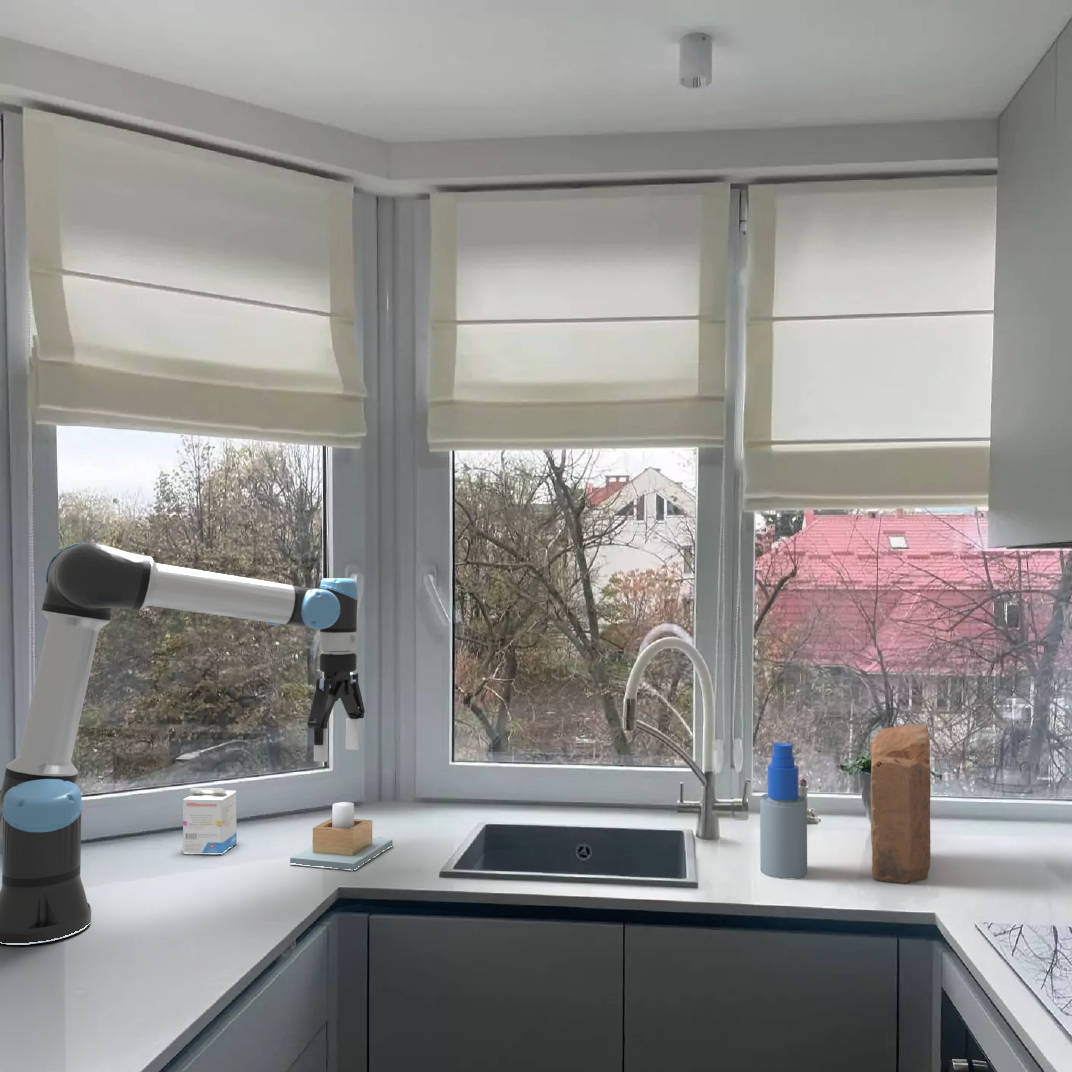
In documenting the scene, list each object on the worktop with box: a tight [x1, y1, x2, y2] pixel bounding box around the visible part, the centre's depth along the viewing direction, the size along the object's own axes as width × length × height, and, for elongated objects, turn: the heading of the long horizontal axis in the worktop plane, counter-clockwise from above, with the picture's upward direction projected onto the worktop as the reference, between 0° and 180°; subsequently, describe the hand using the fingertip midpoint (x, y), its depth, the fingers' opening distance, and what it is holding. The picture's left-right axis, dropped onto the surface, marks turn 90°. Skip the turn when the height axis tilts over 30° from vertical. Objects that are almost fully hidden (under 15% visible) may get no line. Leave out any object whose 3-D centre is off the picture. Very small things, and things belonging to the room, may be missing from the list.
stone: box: [869, 723, 932, 884], centre depth 197 cm, size 22×11×28 cm, turn 162°
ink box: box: [182, 787, 238, 853], centre depth 210 cm, size 9×8×13 cm
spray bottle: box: [759, 742, 808, 879], centre depth 195 cm, size 9×9×25 cm
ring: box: [312, 818, 373, 856], centre depth 206 cm, size 9×9×5 cm
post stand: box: [289, 801, 393, 870], centre depth 206 cm, size 18×14×10 cm
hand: (336, 755), depth 206 cm, fingers open, 13 cm apart
